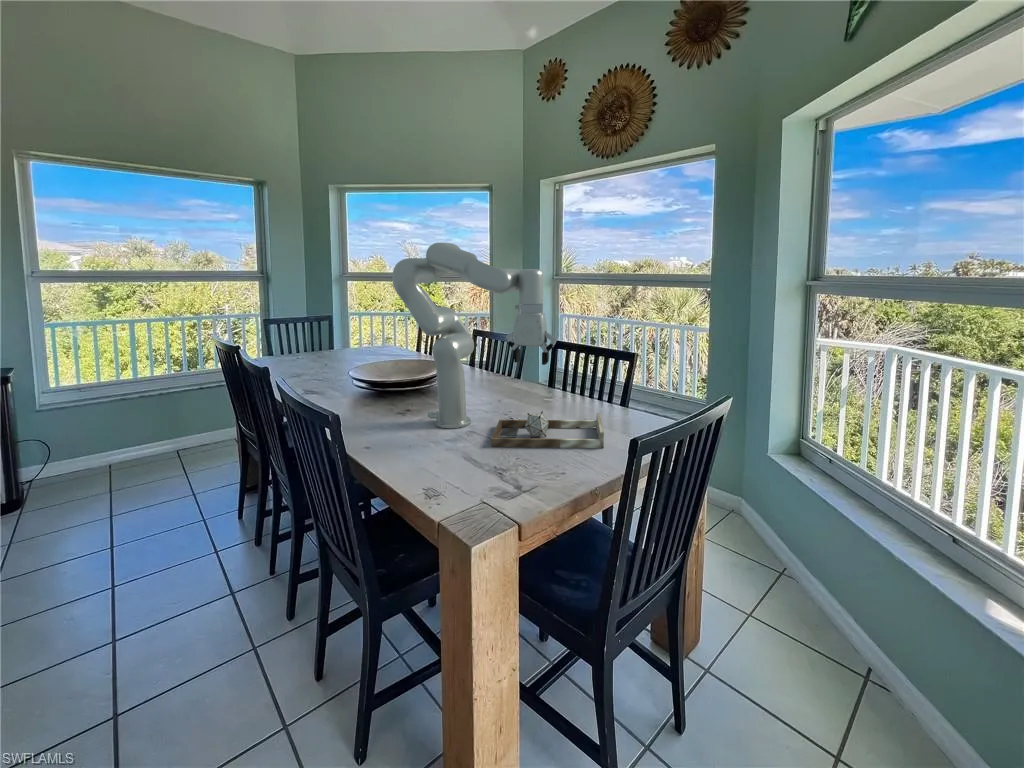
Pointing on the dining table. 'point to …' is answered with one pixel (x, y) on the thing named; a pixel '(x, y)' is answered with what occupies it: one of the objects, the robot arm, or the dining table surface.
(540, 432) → the game die
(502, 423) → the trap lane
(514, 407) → the dining table surface
